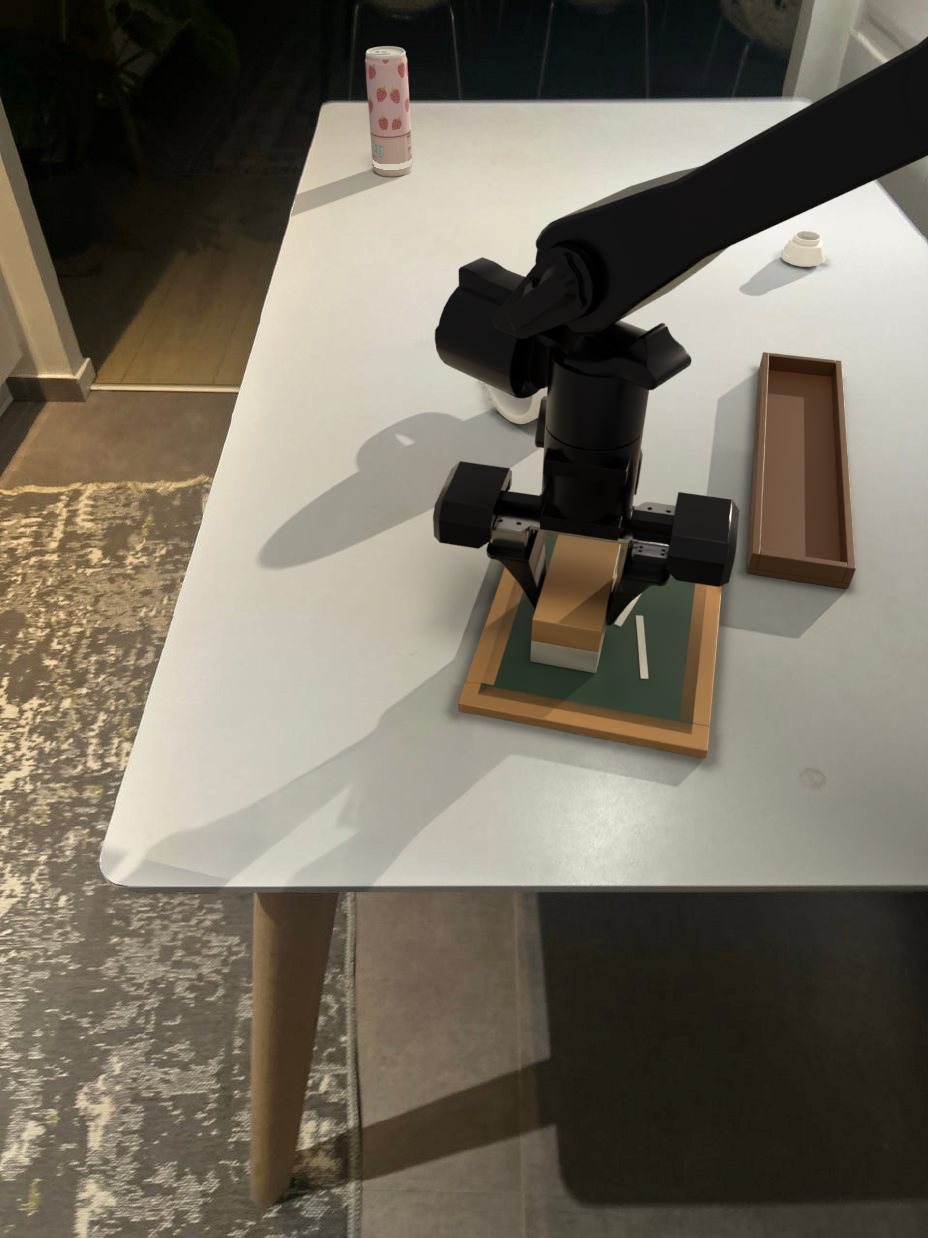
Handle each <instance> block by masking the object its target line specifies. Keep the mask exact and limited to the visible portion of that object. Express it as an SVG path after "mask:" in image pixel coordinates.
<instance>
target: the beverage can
mask: <svg viewBox="0 0 928 1238" xmlns="http://www.w3.org/2000/svg"><path fill="white" fill-rule="evenodd" d="M406 52H407V51H406V50H405V49H404V48H403V47H399V46H394V45H393V46H391V45H385V46H384V45H383V46H376V47H371V48H368V49H367V50H366V52H365V59H364V65H365V79H366V92H367V106H368V120H369V121H368V122H369V132H370V147H371V160H372V159H373V160H374V161H375V162H377V163H379V164H400V163H404V162H406V161H409V160H410V159H411V158H412V159H413V150H412V149H413V147H412V132H411V131H412V129H411V110H410V108H411V107H410V90H409V70H408V69H409V68H408V58H407V55H406ZM413 167H414V166H413V163H412V164H411V166H409V167H407V168H404V169H399V170H383V169H379V168H376V167H374V166H373V165H372V170H373V171H374V172H375V173H376V174H377V175H378V176H381V177H387V178H388V177H394V178H395V177H401V176H402V177H403V176H405V175H407V174H409V173H410V172H411V171H412V170H413Z"/></svg>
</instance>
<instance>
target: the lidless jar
mask: <svg viewBox="0 0 928 1238" xmlns="http://www.w3.org/2000/svg"><path fill="white" fill-rule="evenodd" d="M783 248H784V250H783ZM783 248H782V249H781V251H780V258H781V260H783V261H784V262H785V263H788V264H790V265H791V266H796V267H800V268H801V267H802V268H811V267H816V266H819V265H822V264H824V262H825V261H826V252H825V248H824V243H823V241H822V235H821V234H820V233H818V232H816V231H812V230H798V231H796V232H794V234H793V236H792V237H791V238H790V239H789V240H788V242H787V243H786V244H785V245H784V247H783ZM783 251H784V252H785V254H786V255H788V256H789V257H788V256H786V255H785V254H784V253H783ZM824 252H825V253H824ZM824 255H825V256H824Z"/></svg>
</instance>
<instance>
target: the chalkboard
mask: <svg viewBox="0 0 928 1238" xmlns="http://www.w3.org/2000/svg"><path fill="white" fill-rule="evenodd" d="M558 534H559V533H552V532H546V531H545V557H546V573H547V570H548V566H549V563H550V560H551V556H552V553H553V550H554V546H555V543H556V540H557V536H558ZM559 535H565V534H559ZM566 536H572V535H566ZM572 537H578V536H572ZM579 538H585V537H579ZM585 539H592V538H585ZM592 540H598V539H592ZM598 541H604V542H611V541H605V540H598ZM611 543H617V544H621V547H620V554H619V561H618V568H617V574H618V570H619V567H620V564H621V561H622V558H623V555H624V551H625V548H626V544H624V543H618V542H611ZM616 577H617V575H616ZM722 591H723V586H720V587H715V586H709V585H702V584H696V583H690V582H684V581H677V580H676V579H675V578H674V577H673V576H672V575H671V574H670V578H669V582H668V583H667V584H666V585H664V586H654V585H653V586H650V587H649V588H648V589H646V590H645V591H644V592H643V593H641V594H640V595H639V596H638V597H636V598H635V599H634V600H633V601H632V602H631V603H630V604H629V605H628V606H627V607H626V608H625V609H624V611H623V612H622V613H621V614H620V615H619V617H618V618H617V619H616V620H615V621H614V623H613V624H612V625H611V626H609V625H606V629H605V634H604V639H603V643H602V648H601V652H600V657H599V662H598V666H597V671H596V673H591V672H586V671H581V670H575V669H570V668H564V667H559V666H553V665H548V664H542V663H537V662H531V661H530V655H531V638H532V620H533V616H534V613H535V609H534V607H533V605H532V604H531V602H530V601H529V599H528V597H527V596H526V594H525V592H524V591H523V589H522V588H521V586H520V585H519V583H518V582H517V581H516V579H515V578H514V577H513V576H512V575H511V573H510V572H509V571H508V570H507V569H506V568H505V567H504V568H503V570H502V574H501V577H500V579H499V583H498V586H497V588H496V592H495V594H494V597H493V600H492V603H491V606H490V609H489V612H488V615H487V617H486V620H485V623H484V627H483V629H482V632H481V635H480V638H479V641H478V644H477V647H476V650H475V653H474V655H473V658H472V662H471V665H470V668H469V670H468V673H467V676H466V679H465V682H464V685H463V688H462V690H461V693H460V696H459V699H458V701H457V709H458V712H463V713H468V714H474V715H479V716H484V717H489V718H495V719H499V720H500V719H501V720H504V721H509V722H516V723H521V724H525V725H530V726H535V727H541V728H546V729H552V730H557V731H561V732H568V733H572V734H577V735H583V736H588V737H593V738H598V739H603V740H607V741H608V740H609V741H612V742H619V743H623V744H629V745H633V746H634V745H635V746H638V747H639V746H640V747H644V748H649V749H655V750H660V751H665V752H671V753H675V754H681V755H686V756H691V757H695V758H696V757H697V758H701V759H706V758H707V754H708V750H709V742H710V741H709V740H710V728H711V718H712V706H713V695H714V685H715V683H714V682H715V671H716V661H717V660H716V659H717V648H718V638H719V637H718V636H719V624H720V613H721V602H722Z"/></svg>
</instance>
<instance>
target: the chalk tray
mask: <svg viewBox="0 0 928 1238" xmlns="http://www.w3.org/2000/svg"><path fill="white" fill-rule="evenodd" d="M757 373H758V375H757V391H756V409H755V426H754V442H753V444H754V445H753V459H752V460H753V461H752V474H751V475H752V477H751V490H750V491H751V492H750V510H749V525H748V541H747V558H746V559H747V561H746V574H751V575H758V576H763V577H768V578H769V577H771V578H776V579H783V580H790V581H796V582H802V583H803V582H804V583H809V584H814V585H821V586H828V587H835V588H840V589H849V588H850V585H851V583H852V580H853V578H854V575H855V573H856V569H857V567H856V565H857V563H856V553H855V552H856V551H855V535H854V523H853V522H854V521H853V508H852V507H853V505H852V493H851V492H852V491H851V478H850V461H849V447H848V434H847V432H848V431H847V418H846V405H845V403H846V402H845V389H844V372H843V361H842V360H838V359H827V358H819V357H811V356H801V355H793V354H783V353H773V352H765V351H763V352H762V353H761V359H760V362H759V367H758V372H757Z"/></svg>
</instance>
